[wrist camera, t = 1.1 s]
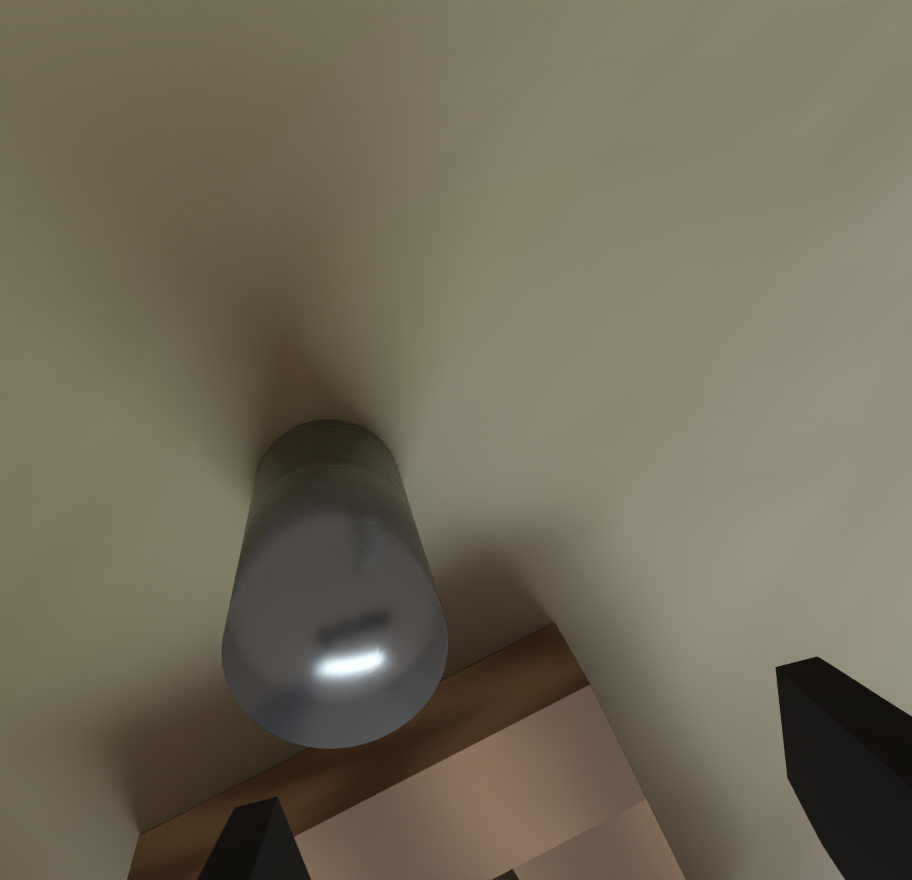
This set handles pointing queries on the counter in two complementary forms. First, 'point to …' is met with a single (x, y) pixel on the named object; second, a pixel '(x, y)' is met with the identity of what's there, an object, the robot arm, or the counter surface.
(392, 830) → the bead block
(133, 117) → the counter surface
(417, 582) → the grey cylinder
